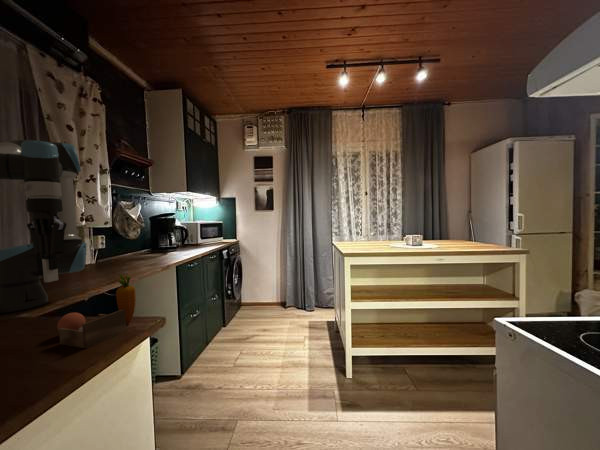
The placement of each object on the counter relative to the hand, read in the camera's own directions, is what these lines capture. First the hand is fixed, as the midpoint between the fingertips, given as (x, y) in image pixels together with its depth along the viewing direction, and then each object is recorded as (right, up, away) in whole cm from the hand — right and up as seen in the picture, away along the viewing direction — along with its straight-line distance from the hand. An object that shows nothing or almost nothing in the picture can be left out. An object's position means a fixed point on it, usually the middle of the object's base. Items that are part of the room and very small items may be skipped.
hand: (51, 280), depth 79 cm
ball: (+8, -11, -3) cm, 14 cm away
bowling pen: (+16, -14, -5) cm, 22 cm away
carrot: (+20, -14, +3) cm, 24 cm away
